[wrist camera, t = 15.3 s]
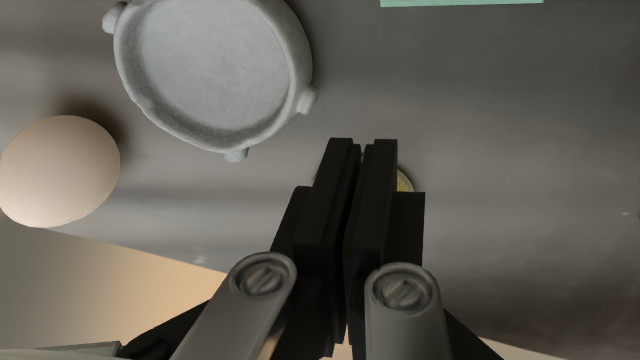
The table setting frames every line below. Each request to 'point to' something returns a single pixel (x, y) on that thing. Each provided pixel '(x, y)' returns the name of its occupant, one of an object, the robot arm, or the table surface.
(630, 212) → the table surface
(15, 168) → the egg
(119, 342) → the robot arm
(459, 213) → the table surface
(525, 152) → the table surface
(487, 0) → the button panel
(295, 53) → the dish
